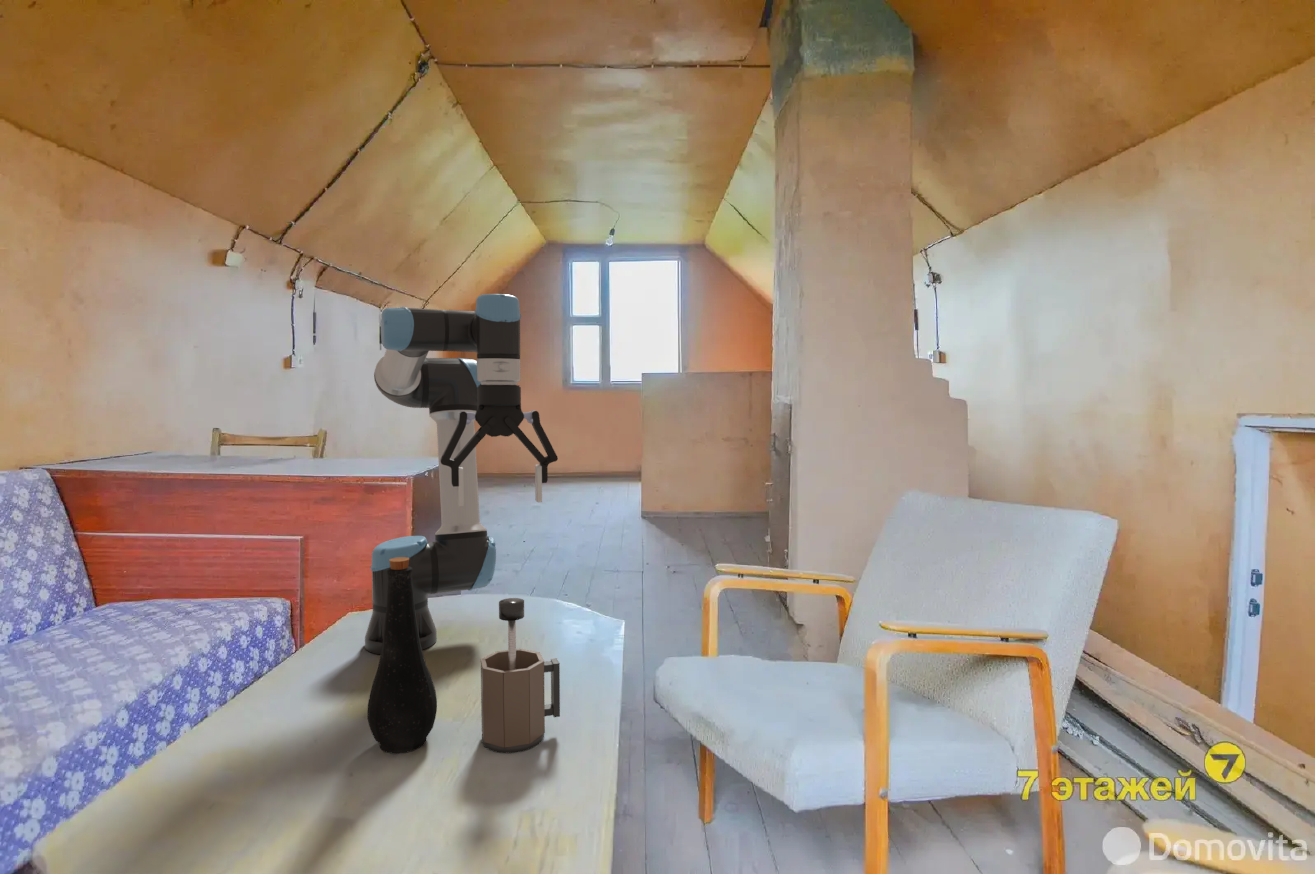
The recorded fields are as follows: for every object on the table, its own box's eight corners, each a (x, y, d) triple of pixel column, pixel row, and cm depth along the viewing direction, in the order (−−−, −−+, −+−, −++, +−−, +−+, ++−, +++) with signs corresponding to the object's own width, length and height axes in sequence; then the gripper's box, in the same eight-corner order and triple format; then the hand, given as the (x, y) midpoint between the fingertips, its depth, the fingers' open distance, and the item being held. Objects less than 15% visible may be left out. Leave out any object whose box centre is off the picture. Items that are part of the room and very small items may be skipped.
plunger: (489, 720, 120) (487, 597, 119) (530, 715, 123) (529, 593, 121) (494, 739, 114) (492, 609, 113) (537, 733, 116) (536, 605, 115)
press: (479, 728, 122) (478, 652, 121) (553, 717, 126) (552, 644, 125) (484, 757, 112) (483, 675, 111) (564, 744, 116) (564, 665, 115)
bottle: (416, 762, 111) (412, 569, 109) (354, 755, 113) (348, 565, 111) (449, 730, 121) (446, 553, 119) (392, 724, 123) (387, 550, 121)
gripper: (425, 383, 120) (427, 510, 122) (573, 383, 128) (573, 502, 129) (424, 383, 127) (426, 503, 129) (564, 383, 135) (565, 496, 137)
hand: (500, 503), depth 129 cm, fingers open, 13 cm apart
